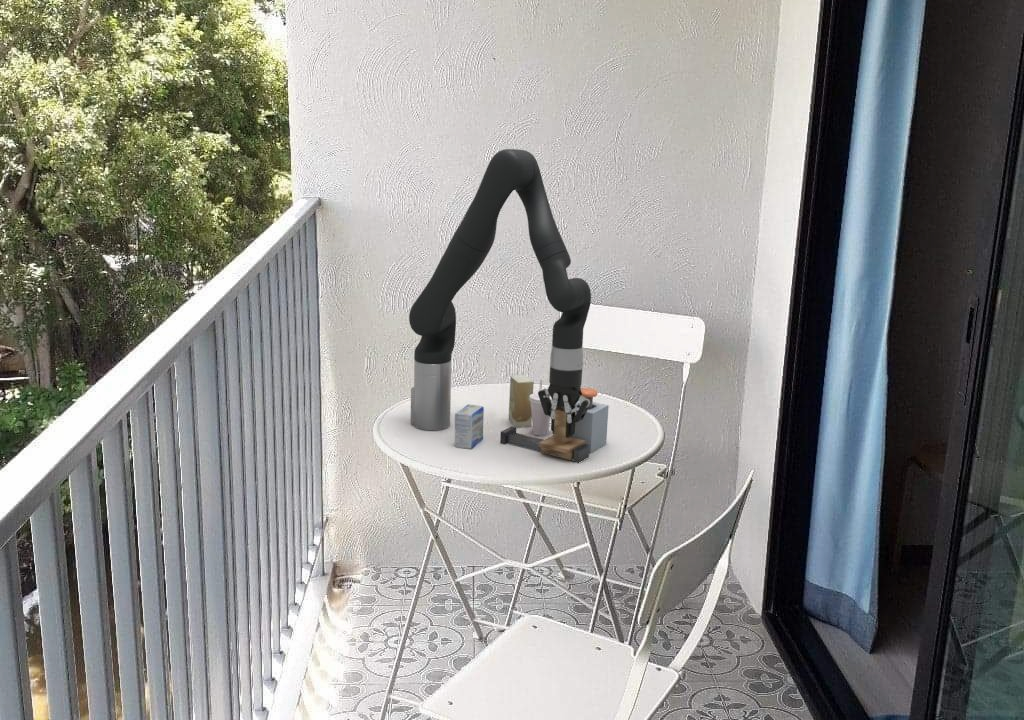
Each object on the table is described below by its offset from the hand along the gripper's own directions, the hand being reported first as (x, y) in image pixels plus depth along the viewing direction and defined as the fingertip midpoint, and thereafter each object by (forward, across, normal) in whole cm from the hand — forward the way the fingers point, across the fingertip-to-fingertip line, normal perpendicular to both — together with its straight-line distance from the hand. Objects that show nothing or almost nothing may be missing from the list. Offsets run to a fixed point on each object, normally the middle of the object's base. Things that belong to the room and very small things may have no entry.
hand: (562, 434), depth 236 cm
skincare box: (+5, -20, +13) cm, 24 cm away
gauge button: (-2, +1, +9) cm, 9 cm away
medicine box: (+5, -22, -7) cm, 24 cm away
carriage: (+5, 0, 0) cm, 5 cm away
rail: (+5, -5, 0) cm, 7 cm away
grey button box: (+5, +1, +9) cm, 10 cm away
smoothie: (+5, -12, +10) cm, 16 cm away
